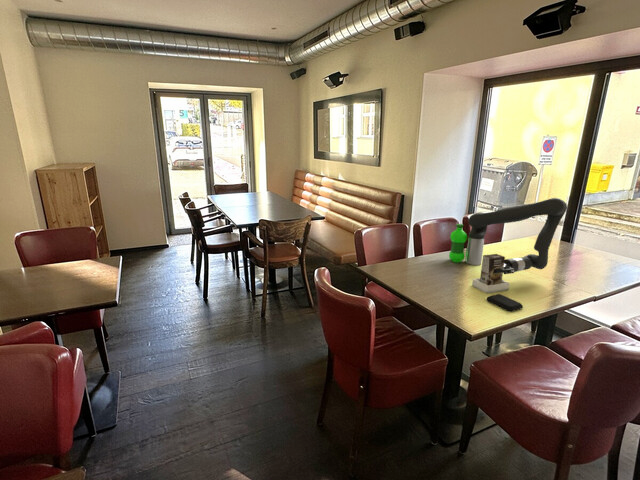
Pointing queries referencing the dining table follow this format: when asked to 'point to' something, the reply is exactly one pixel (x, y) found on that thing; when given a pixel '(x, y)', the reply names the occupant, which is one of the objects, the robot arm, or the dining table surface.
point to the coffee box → (491, 269)
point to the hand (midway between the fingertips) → (489, 269)
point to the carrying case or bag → (504, 302)
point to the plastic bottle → (457, 244)
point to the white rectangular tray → (490, 286)
